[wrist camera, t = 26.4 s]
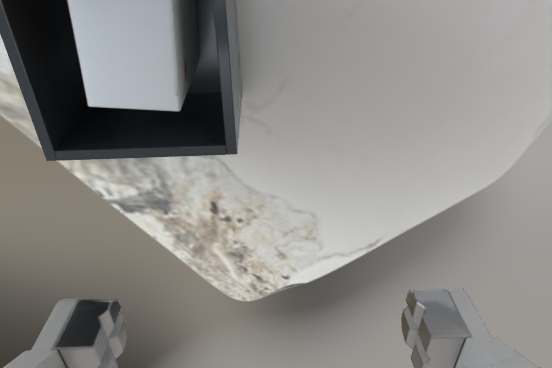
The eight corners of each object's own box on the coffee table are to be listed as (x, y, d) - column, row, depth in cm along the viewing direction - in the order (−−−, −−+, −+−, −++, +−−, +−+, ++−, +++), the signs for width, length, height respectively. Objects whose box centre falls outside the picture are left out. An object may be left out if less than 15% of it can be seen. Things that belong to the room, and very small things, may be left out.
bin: (241, 96, 36) (237, 154, 27) (99, 101, 36) (46, 161, 27) (228, -104, 28) (216, -116, 19) (46, -100, 28) (-54, -112, 19)
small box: (116, -55, 29) (55, -46, 20) (196, -49, 29) (171, -37, 20) (130, 59, 33) (84, 109, 24) (200, 63, 33) (180, 113, 25)
